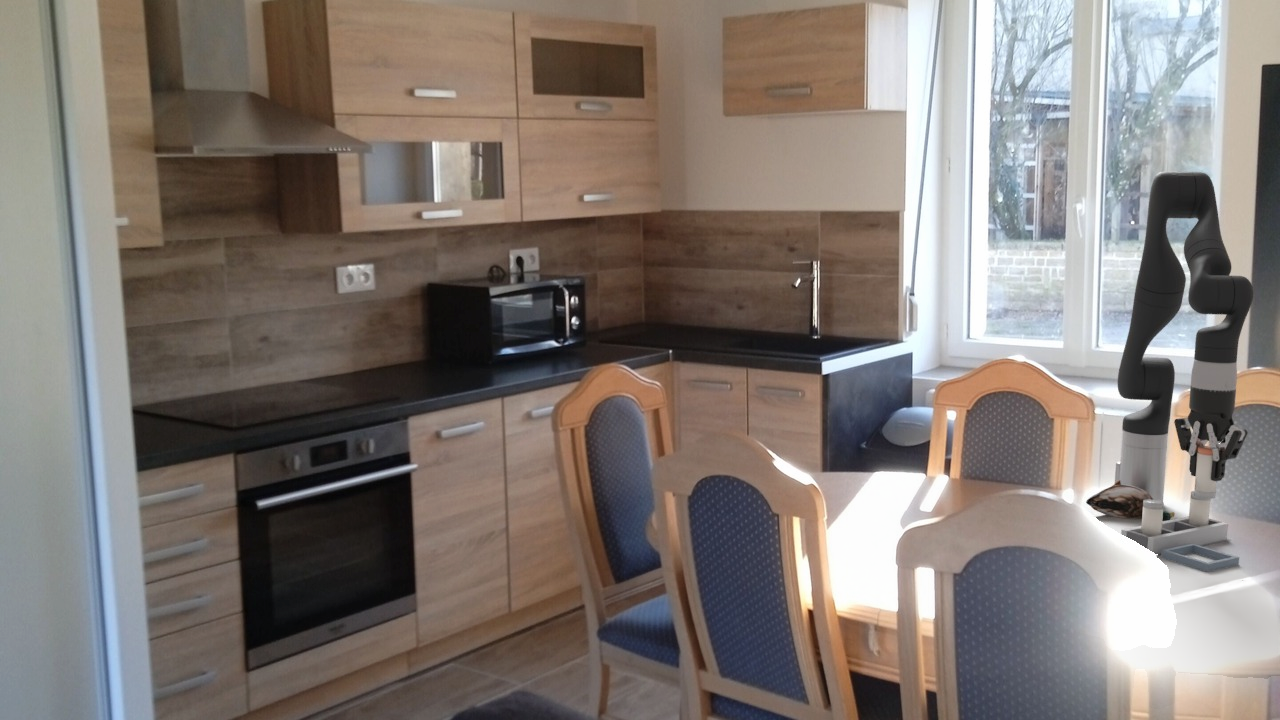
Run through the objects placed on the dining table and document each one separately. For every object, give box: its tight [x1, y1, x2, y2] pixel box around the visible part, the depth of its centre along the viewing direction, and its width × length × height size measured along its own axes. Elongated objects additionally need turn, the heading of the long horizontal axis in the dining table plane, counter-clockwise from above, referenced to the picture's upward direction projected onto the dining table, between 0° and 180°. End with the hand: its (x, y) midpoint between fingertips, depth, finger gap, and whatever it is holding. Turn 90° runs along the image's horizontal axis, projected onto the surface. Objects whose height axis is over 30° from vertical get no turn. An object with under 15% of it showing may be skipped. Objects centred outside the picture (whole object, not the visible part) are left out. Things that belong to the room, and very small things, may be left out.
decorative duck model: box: [1085, 480, 1175, 521], centre depth 259 cm, size 15×8×15 cm
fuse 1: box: [1140, 499, 1165, 537], centre depth 238 cm, size 4×4×9 cm
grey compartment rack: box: [1120, 515, 1231, 557], centre depth 242 cm, size 8×23×4 cm, turn 120°
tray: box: [1160, 544, 1240, 573], centre depth 230 cm, size 10×9×3 cm
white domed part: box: [1188, 490, 1212, 527], centre depth 245 cm, size 4×4×9 cm
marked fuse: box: [1193, 445, 1218, 500], centre depth 228 cm, size 4×4×9 cm
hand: (1206, 477), depth 228 cm, fingers closed on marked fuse, 3 cm apart
